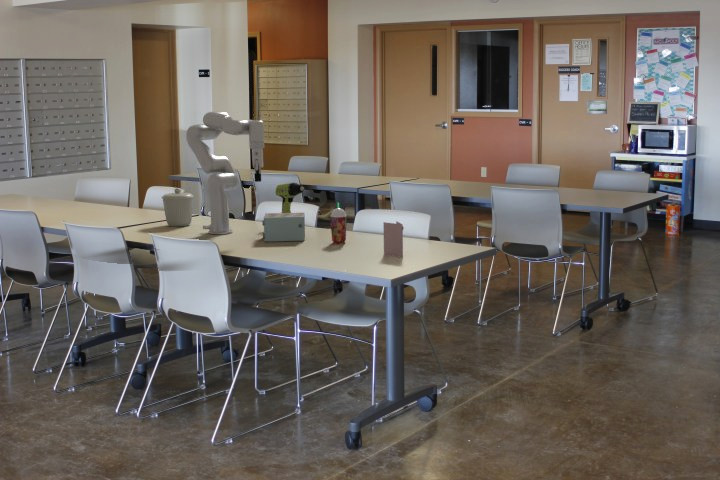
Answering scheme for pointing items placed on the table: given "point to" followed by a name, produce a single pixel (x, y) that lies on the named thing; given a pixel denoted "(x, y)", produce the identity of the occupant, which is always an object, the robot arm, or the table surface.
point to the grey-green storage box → (283, 229)
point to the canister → (178, 208)
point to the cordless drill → (288, 194)
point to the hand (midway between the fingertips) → (258, 181)
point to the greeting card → (393, 239)
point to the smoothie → (338, 225)
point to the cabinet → (286, 216)
